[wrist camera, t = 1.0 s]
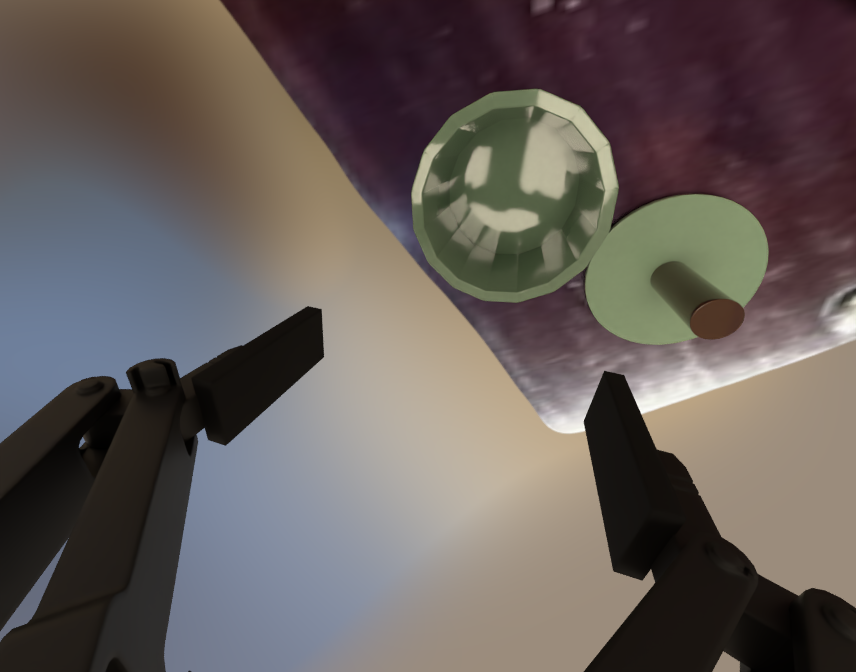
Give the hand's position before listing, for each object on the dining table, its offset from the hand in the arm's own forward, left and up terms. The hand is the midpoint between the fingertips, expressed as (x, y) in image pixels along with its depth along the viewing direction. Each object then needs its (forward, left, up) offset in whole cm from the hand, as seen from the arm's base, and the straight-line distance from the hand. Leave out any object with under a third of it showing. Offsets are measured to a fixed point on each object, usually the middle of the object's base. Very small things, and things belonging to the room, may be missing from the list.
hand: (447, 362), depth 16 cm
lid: (-10, +13, -20) cm, 26 cm away
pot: (-5, -2, -21) cm, 22 cm away
